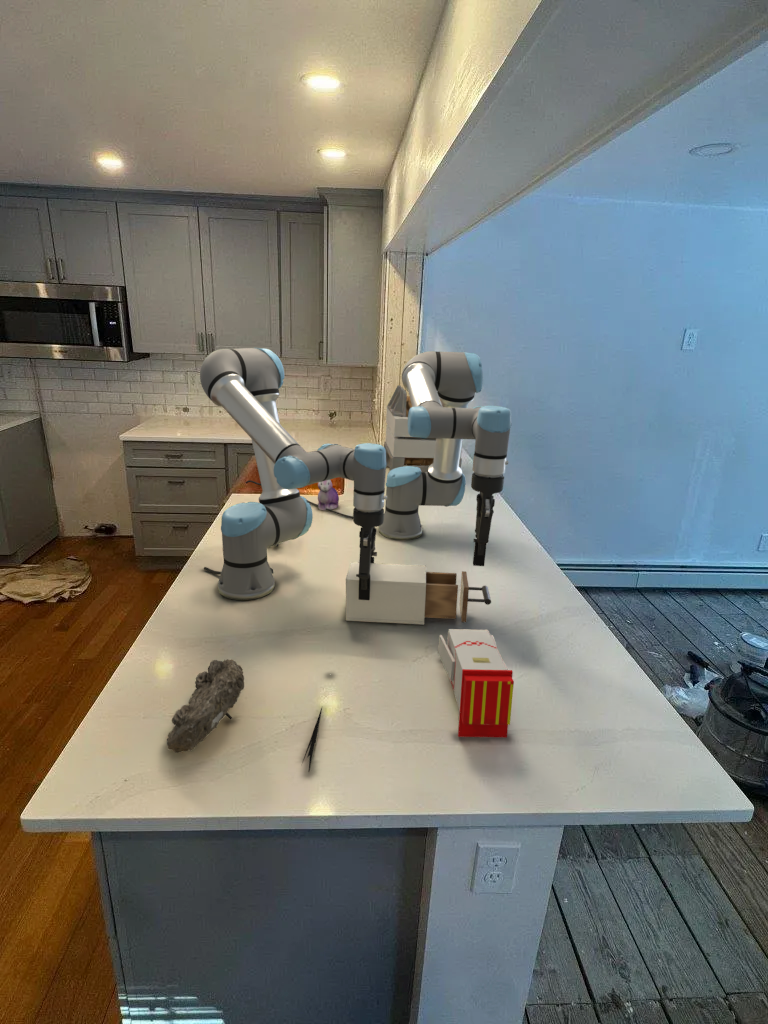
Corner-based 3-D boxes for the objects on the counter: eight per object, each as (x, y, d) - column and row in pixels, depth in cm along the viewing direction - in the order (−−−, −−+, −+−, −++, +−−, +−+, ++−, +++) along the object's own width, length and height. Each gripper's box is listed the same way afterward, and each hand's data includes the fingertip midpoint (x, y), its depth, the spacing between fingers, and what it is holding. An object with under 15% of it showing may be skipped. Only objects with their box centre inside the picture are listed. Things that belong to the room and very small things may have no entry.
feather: (331, 679, 122) (336, 673, 122) (307, 777, 96) (313, 769, 95) (324, 675, 122) (329, 669, 121) (298, 772, 95) (304, 764, 95)
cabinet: (424, 604, 152) (426, 565, 148) (424, 624, 142) (426, 582, 138) (350, 601, 153) (350, 561, 149) (345, 620, 143) (345, 579, 139)
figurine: (321, 512, 217) (321, 474, 212) (311, 504, 225) (311, 467, 220) (344, 509, 221) (344, 472, 216) (333, 501, 229) (334, 465, 224)
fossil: (192, 660, 117) (244, 628, 112) (224, 691, 120) (276, 661, 115) (142, 746, 98) (202, 712, 93) (182, 779, 101) (242, 748, 96)
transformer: (382, 463, 289) (386, 382, 275) (445, 464, 293) (451, 384, 279) (390, 482, 257) (394, 392, 243) (460, 483, 261) (468, 394, 247)
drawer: (486, 605, 150) (489, 572, 147) (489, 623, 141) (492, 588, 138) (393, 601, 151) (394, 568, 148) (392, 618, 143) (393, 583, 140)
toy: (488, 613, 130) (523, 677, 101) (484, 667, 133) (517, 744, 104) (435, 612, 130) (455, 676, 101) (432, 666, 133) (451, 743, 103)
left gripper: (380, 525, 127) (377, 612, 135) (387, 494, 149) (383, 570, 156) (347, 523, 128) (345, 610, 135) (358, 492, 149) (356, 569, 156)
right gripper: (508, 482, 127) (496, 577, 135) (501, 467, 139) (490, 555, 147) (474, 480, 127) (464, 575, 135) (470, 465, 139) (461, 553, 147)
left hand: (366, 589), depth 146 cm, fingers closed on cabinet, 10 cm apart
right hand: (478, 564), depth 141 cm, fingers closed
